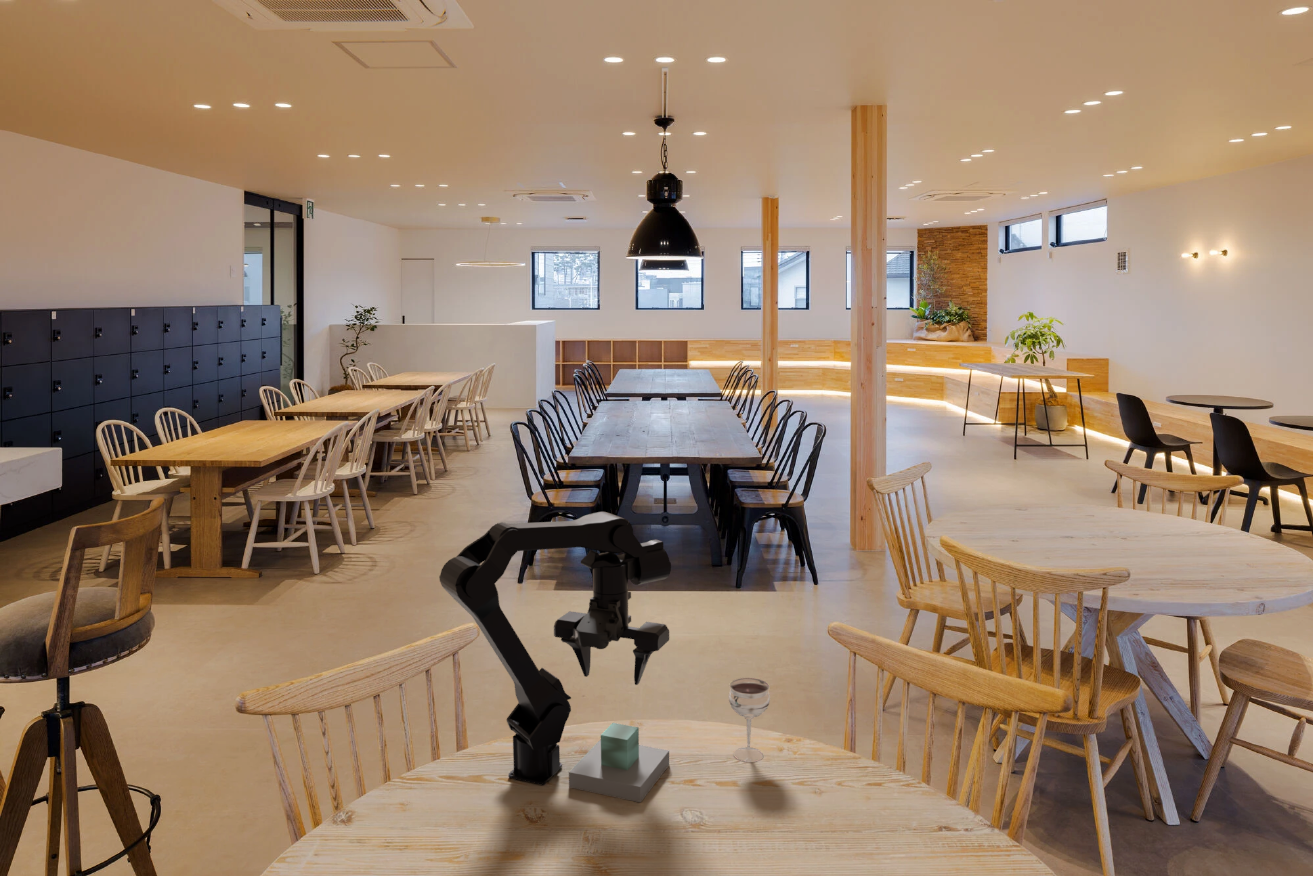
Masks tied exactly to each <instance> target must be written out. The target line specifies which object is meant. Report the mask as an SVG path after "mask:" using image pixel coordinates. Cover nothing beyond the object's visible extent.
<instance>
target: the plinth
mask: <svg viewBox="0 0 1313 876" xmlns="http://www.w3.org/2000/svg"><path fill="white" fill-rule="evenodd" d="M669 766H670V750H669V749H663V748H658V747H652V746H647V745H643V744H639V757H638V759H637V760H636V761H635V762H634V763H633V764H632V766H631V767H630V768H629V769H628V770H623V769H618V768H613V767H609V766H604V765H601V738H600V739H599V740H598V741H597V742H596V743H595V744H594V745H593V747H591V748H590V749H589V750H588V752H587V753H585V755H584V756H583V757H581V759H580V760H579V761H578V762H577V763H576V764H575V765H574V766H573V767H572V768H571V769H570V770H569V771H568V787H569V788H571V789H575V790H581V791H585V792H590V793H595V794H599V795H604V796H608V797H613V798H619V799H623V800H627V801H632V802H637V803H641V802H642V801H643V800H644V799H645V797H646V796H648V793H649V792H651V789H652V788H653V787H654V786H655V784H657V782H658V780H659V779H660V778H661V777H662V775H663V774H664V772H665V771H666V770H667V769H668V768H669Z"/></svg>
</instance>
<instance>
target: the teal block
mask: <svg viewBox="0 0 1313 876" xmlns="http://www.w3.org/2000/svg"><path fill="white" fill-rule="evenodd" d="M639 729H640V728H639V727H638V726H632V725H627V724H623V723H622V724H621V723H617V722H616V723H615V722H612V723H611V724H610V725H609V726H608V727H607V728H606V729H605V730H604V731H603V732H602V733H601V734H600V739H601V765H604V766H609V767H613V768H618V769H623V770H628V769H629V768H630V767H631V766H632V764H633V763H634V762H635V761H636V760H637V759H638V757H639V745H640V743H639V741H640V737H639V735H640V734H639V733H640V732H639V731H640V730H639Z"/></svg>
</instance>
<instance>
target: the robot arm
mask: <svg viewBox="0 0 1313 876" xmlns="http://www.w3.org/2000/svg"><path fill="white" fill-rule="evenodd" d="M570 548H571V549H572V548H573V549H574V548H575V549H576V548H584V549H589V552H588V554H587V555H586V556H584V557H583V558H582V559H581V560H580V564H581V565H583V566H585V567H587V568H588V569H591V570H592V585H593V586H592V588H593V589H592V597H590V598H589V603H588V605H589V606H588V610H587V613H585V612H584V613H583V612H576V611H571V610H570V611H568V612H566V613H564V614H563V615H562V616H560V617H559V618H557V620H555V621H554V625H553V637H555V638H559V639H560V638H561V639H560V641H561V642H562V643H566V644H567V645H568V646H570V647H571V648H572V650H573V653H575V656H576V659H577V661H578V664H579V667H580V668H581V671H582V673H583V676H584V677H588V676H589V675H590V673H591V671H590V670H591V658H592V657H591V653H592V652H591V648H596V649H597V650H604V649H606V648H607V647H608V646H609V644H610V643H611V642H612V641H613V642H619V641H620V639H621V638H622V639H628V640H633V644H634V646H635V648H634V649H633V650H632V653H633V655H634V671H633V672H634V675H633V681H634V685H635V686H638V685H639V684H640V682H641V680H642V677H643V674H644V671H645V669H646V667H647V664H648V662H649V659H650V658H651V655H652V654H653V653H654V652H659V651H660V649H662V648H663V646H665V644H667V643H668V642H669V641H670V629H669V628H668V626H667V624H666V623H659V622H651V621H646V622H645V623H643V624H642V625H641V626H640V627H635V626H629V624H630V623H631V622H632V615H629V600H630V599H632V592H631V591H629V581H630V582H631V583H632V584H634V585H636V586H637V585H638V586H640V585H642V584H647V583H652V582H657V581H662V580H663V581H664V580H665V579H667V578H669V576H670V574H671V571H672V570H671V569H672V562H670V557H669V555H668V553H667V551H666V550H665V548H664V542H663V541H662V540H658V539H652V540H649V541H646V542H642V543H641V542H640V541H639V540H638V539H637V537H636V535H635V534H634V527H633V525H632V523H631V522H630V521H629V520H628V519H626V518H623V517H621V516H618V515H615V514H613V513H610V512H606V511H598V512H593V513H589V514H586V515H583V516H581V517H579V518H577V519H573V520H563V521H544V522H543V521H541V522H539V521H538V522H517V523H506V522H497V523H495V524H494V525H493V526H491V527H490V528H489V529H488V530H487V531H486V532H485V533H484V534H483V535H482V536H481V537H479V538H477V539H476V540H474V541H473V542H471V543H470V544H468V545H466V546H465V547H464V548H463V549H462V550H461V552H459V553H458V554H457V555H456V556H454V557H452V558H450V559H449V560H448V561H447V562H446V563H444V565H443V566H442V568H441V571H440V575H439V582H440V585H441V587H442V588H443V589H444V590H445V591H446V592H447V593H448V594H449V596H450V597H452V599H453V600H454V601H456V602H457V603H458V605H459V606H461V607H462V608H463V609H464V610H465V612H467V613H468V614H469V615H470V616H471V617H472V618H473V620H474V621H475V623H476V625H477V626H478V627H479V630H480V631H481V633H482V634H483V635H484V637H485V639H486V640H487V642H488V643H489V645H490V646H491V648H492V650H493V652H494V654H495V655H496V657H497V658H498V659H499V661H500V662H501V664H502V665H503V667H504V669H505V670H506V672H507V674H508V675H509V677H510V678H511V680H512V682H513V684H514V692H515V697H516V699H517V701H518V703H517V704H516V705H515V707H514V708H513V709H512V711H511V712H510V714H508V716H507V717H506V723H507V726H508V728H509V730H510V731H513V732H514V733H515V734H514V735H513V736H512V754H513V755H512V756H513V759H512V760H513V769H512V770H511V771H510V772H509V773H508V779H514V780H518V781H523V782H527V783H531V784H537V785H541V786H542V785H543V786H544V785H546V784H547V783H548V781H550V780H551V778H553V777H554V776H555V774H557V773H558V772H559V770H561V768H562V767H563V763H562V762H561V761H560V759H561V758H560V757H561V756H560V754H561V753H560V745H559V743H560V742H561V740H562V736H563V733H564V729H565V726H566V724H567V721H568V720H569V716H570V713H571V712H572V708H571V707H572V706H571V704H570V701H569V700H571V699H572V697H571V696H570V695H569V694H567V692H566V691H565V689H564V686H563V683H562V682H561V680H560V679H559V678H558V677H557V676H555V675H554V674H553V673H551V672H549V671H548V670H546V669H545V667H544V668H543V667H541V668H540V669H539V668H538V667H537V664H535V661H534V660H533V659H532V657H531V655H530V654H529V652H528V650H527V649H526V647H525V646H524V644H523V642H522V640H521V638H520V637H519V636H518V634H517V633H516V631H515V629H514V628H513V626H512V625H511V623H510V621H509V620H508V618H507V616H506V615H505V613H504V611H503V610H502V608H501V606H500V600H499V599H500V597H499V591H498V589H497V586H496V583H497V582H498V581H499V580H500V579H501V578H502V577H503V575H504V574H505V572H506V570H507V567H508V566H509V563H510V561H511V560H512V558H513V557H514V556H515V555H516V554H517V553H518V552H523V551H525V552H526V551H539V550H541V551H542V550H555V549H558V550H559V549H570ZM597 551H598V552H601V553H598V552H597ZM620 553H621V554H620ZM622 553H623V554H622Z"/></svg>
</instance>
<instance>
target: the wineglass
mask: <svg viewBox="0 0 1313 876" xmlns="http://www.w3.org/2000/svg"><path fill="white" fill-rule="evenodd" d="M728 687H729V693H728V701H729V702H728V703H729V704H730V707H731V709H732V710H733V711H734V712H735V713H737V715H738V716H741V717H743V718H744V719H745V720H746V740H747V741H746V744H747V747H746V746H745V747H743V746H742V747H740V748H737V749H735V750H734V751H733V757H735V758H736V759H737V760H738V761H741V762H744V763H745V762H747V763H755V762H758V761H759V762H760V761H761V760H762V759H763V758H764V753H763V752H762V751H761V750H760V749H758V748H756V747H751V734H752V732H751V731H752V720H753V719H754V718H757V717H759V716H761V715H762V714H763V713H764V712H766V710H767V709H768V707H769V705H770V701H771V696H770V693H769V690H770V689H771V687H770V685H769V683H768V682H767V681H765V680H763V679H761V678H760V679H759V678H755V677H740V678H736V679H733V680H731V681H730V682H729V685H728Z"/></svg>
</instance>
